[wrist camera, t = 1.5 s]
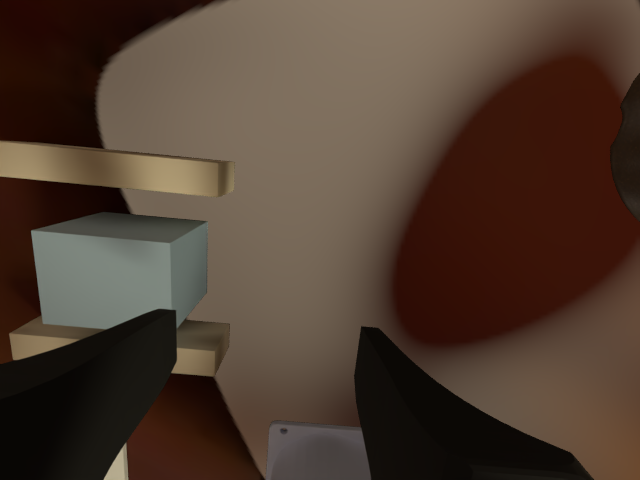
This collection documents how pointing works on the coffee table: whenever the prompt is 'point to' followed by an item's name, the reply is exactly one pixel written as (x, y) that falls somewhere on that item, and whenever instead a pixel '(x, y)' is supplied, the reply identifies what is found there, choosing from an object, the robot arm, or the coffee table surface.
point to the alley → (132, 173)
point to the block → (119, 268)
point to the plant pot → (628, 151)
